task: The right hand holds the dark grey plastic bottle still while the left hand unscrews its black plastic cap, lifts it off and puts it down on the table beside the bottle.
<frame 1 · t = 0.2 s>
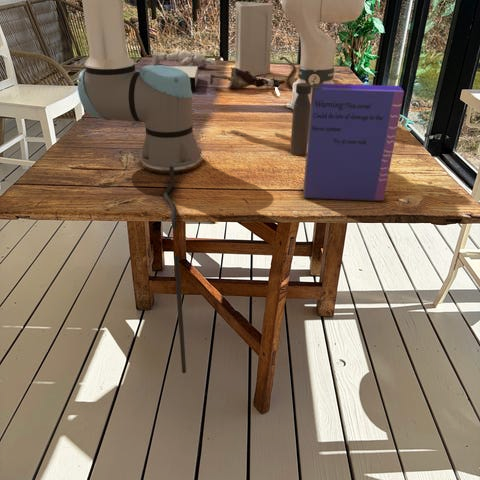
left hand: (174, 20, 152), 28 cm above the table, tool pointing down, fingers open, 13 cm apart
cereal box: (342, 195, 108), on the table
paper bag: (253, 72, 218), on the table
disc drive: (175, 84, 196), on the table
cap: (303, 85, 122), point 18 cm above the table, screwed on, not yet turned
figurine: (247, 88, 192), on the table
bottle: (298, 152, 131), on the table
toy: (185, 67, 226), on the table
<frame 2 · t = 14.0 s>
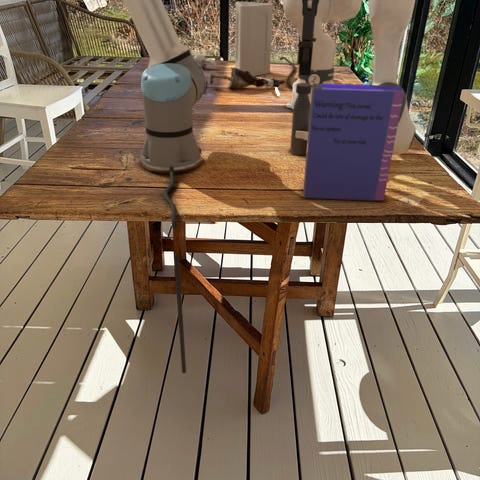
left hand: (304, 71, 120), 21 cm above the table, tool pointing down, fingers open, 6 cm apart
right hand: (296, 130, 128), 6 cm above the table, tool horizontal, fingers closed on bottle, 4 cm apart
bottle: (298, 152, 131), on the table, touching right hand
everything else where it was.
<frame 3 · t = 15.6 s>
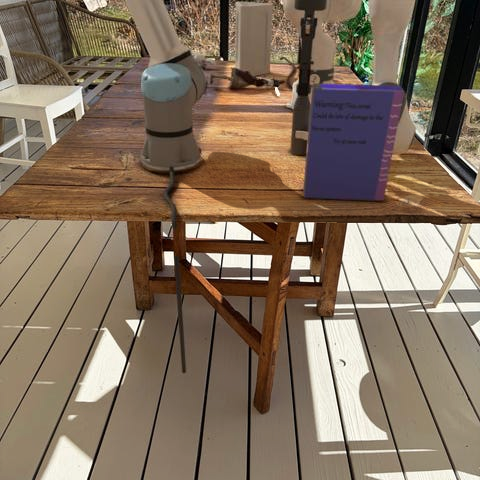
left hand: (303, 93, 123), 16 cm above the table, tool pointing down, fingers closed on cap, 4 cm apart
right hand: (296, 130, 128), 6 cm above the table, tool horizontal, fingers closed on bottle, 4 cm apart
cap: (303, 85, 122), point 18 cm above the table, screwed on, not yet turned, touching left hand
bottle: (298, 152, 131), on the table, touching right hand
everything else where it was.
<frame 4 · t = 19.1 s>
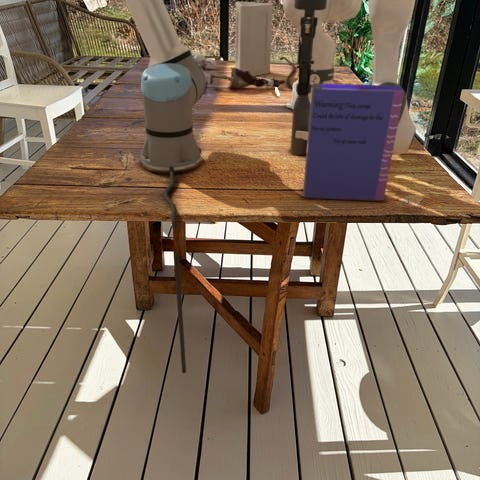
left hand: (303, 92, 123), 16 cm above the table, tool pointing down, fingers closed on cap, 4 cm apart
right hand: (297, 130, 128), 6 cm above the table, tool horizontal, fingers closed on bottle, 4 cm apart
cap: (303, 85, 122), point 18 cm above the table, turned 108° so far, risen 0.1 cm, still on its thread, touching left hand
bottle: (298, 152, 131), on the table, touching right hand
everything else where it was.
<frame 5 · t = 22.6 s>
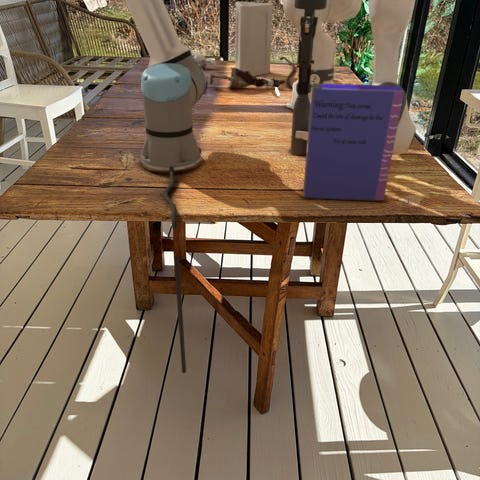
left hand: (303, 92, 123), 16 cm above the table, tool pointing down, fingers closed on cap, 4 cm apart
right hand: (297, 130, 128), 6 cm above the table, tool horizontal, fingers closed on bottle, 4 cm apart
cap: (304, 84, 122), point 18 cm above the table, turned 215° so far, risen 0.2 cm, still on its thread, touching left hand
bottle: (298, 152, 131), on the table, touching right hand
everything else where it was.
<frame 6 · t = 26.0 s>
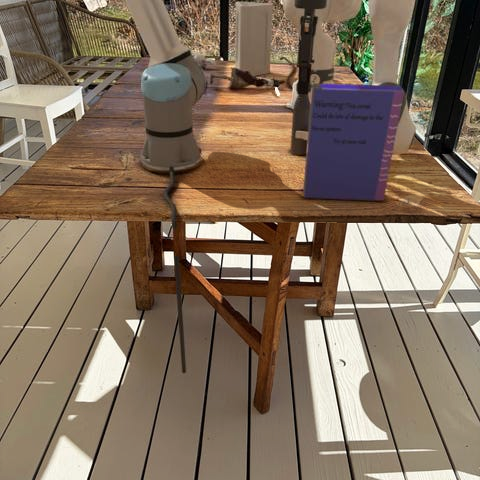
left hand: (303, 91, 123), 16 cm above the table, tool pointing down, fingers closed on cap, 4 cm apart
right hand: (297, 130, 128), 6 cm above the table, tool horizontal, fingers closed on bottle, 4 cm apart
cap: (304, 84, 122), point 18 cm above the table, turned 323° so far, risen 0.4 cm, still on its thread, touching left hand
bottle: (298, 152, 131), on the table, touching right hand
everything else where it was.
when the left hand's fingers open (1 cm above the table, at t = 33.1 s): cap drops 1 cm, point 2 cm above the table.
when the right hand's fingers open (6 cm above the table, at t = 34.4 s): bottle stays where it is, on the table.
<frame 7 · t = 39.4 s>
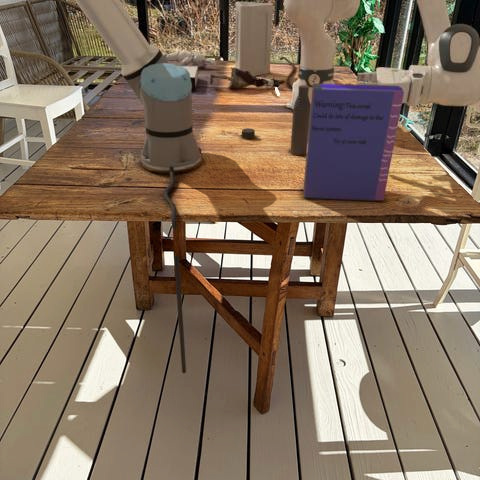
left hand: (250, 24, 125), 31 cm above the table, tool pointing down, fingers open, 13 cm apart
right hand: (356, 81, 119), 20 cm above the table, tool horizontal, fingers open, 8 cm apart
cap: (248, 131, 140), point 2 cm above the table, off its thread
bottle: (298, 152, 131), on the table
everything else where it was.
at the end: cap came off its thread; cap point 1.7 cm above the table; the left hand is holding nothing; the right hand is holding nothing; bottle tilted 0°; bottle moved 0.0 cm from its start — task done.
